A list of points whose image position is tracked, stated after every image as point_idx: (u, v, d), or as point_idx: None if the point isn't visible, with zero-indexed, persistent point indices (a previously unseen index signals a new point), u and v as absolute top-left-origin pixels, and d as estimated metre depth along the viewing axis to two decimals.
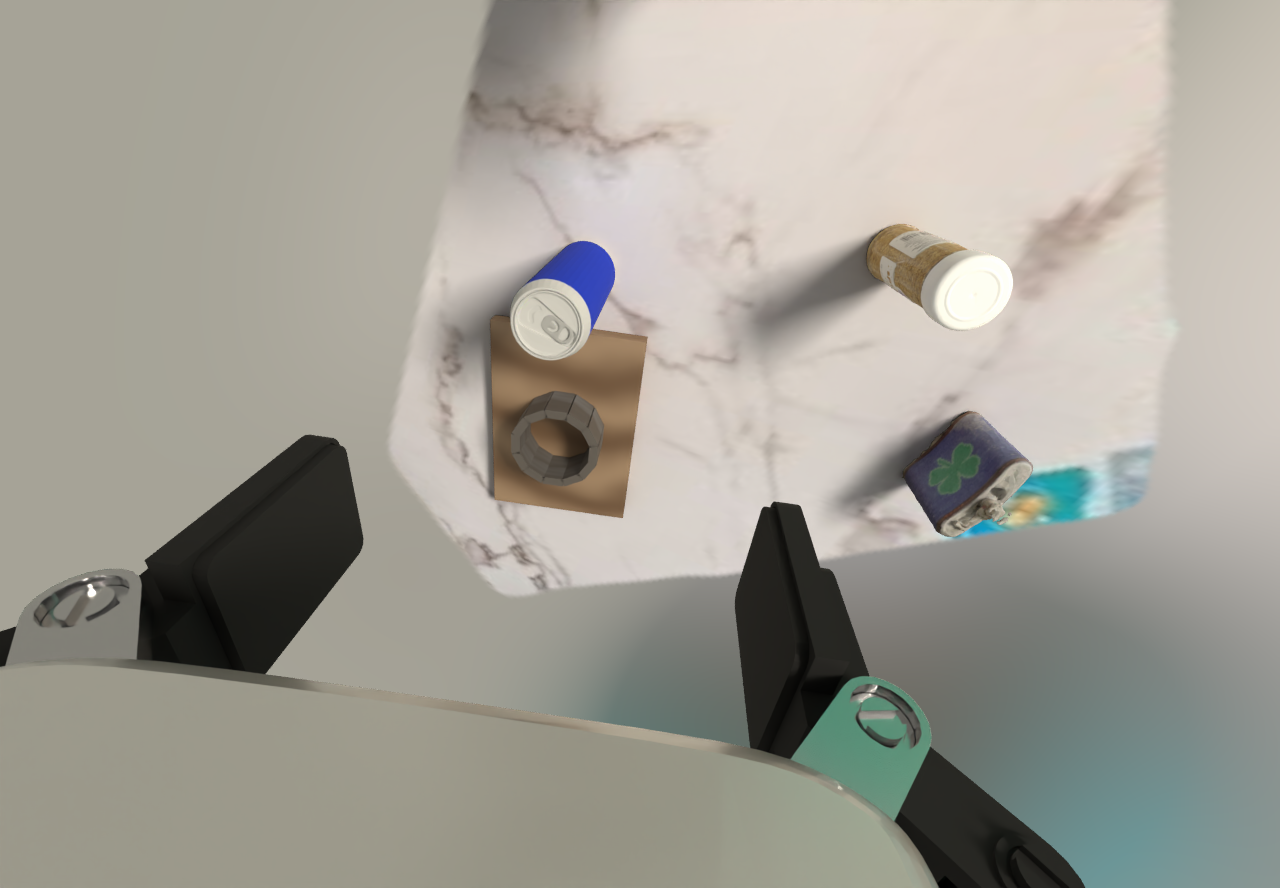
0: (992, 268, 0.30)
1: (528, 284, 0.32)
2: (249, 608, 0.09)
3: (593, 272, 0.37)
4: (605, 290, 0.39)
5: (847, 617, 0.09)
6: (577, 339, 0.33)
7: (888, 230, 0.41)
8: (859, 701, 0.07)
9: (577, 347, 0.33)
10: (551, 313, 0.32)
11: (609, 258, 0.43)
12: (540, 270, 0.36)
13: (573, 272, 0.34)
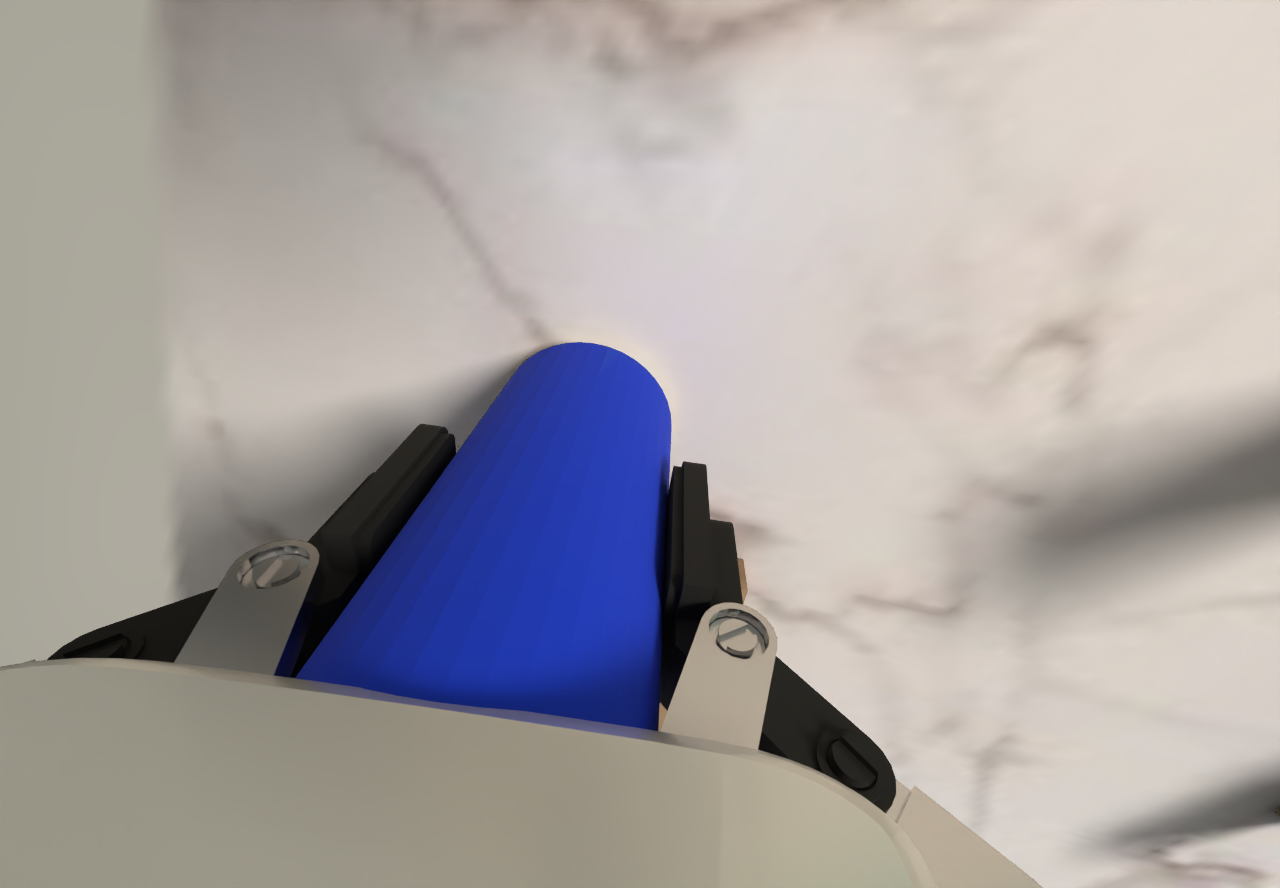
0: None
1: None
2: None
3: (624, 555, 0.08)
4: None
5: (736, 561, 0.10)
6: None
7: None
8: None
9: None
10: None
11: (658, 393, 0.15)
12: (366, 591, 0.07)
13: (514, 698, 0.06)
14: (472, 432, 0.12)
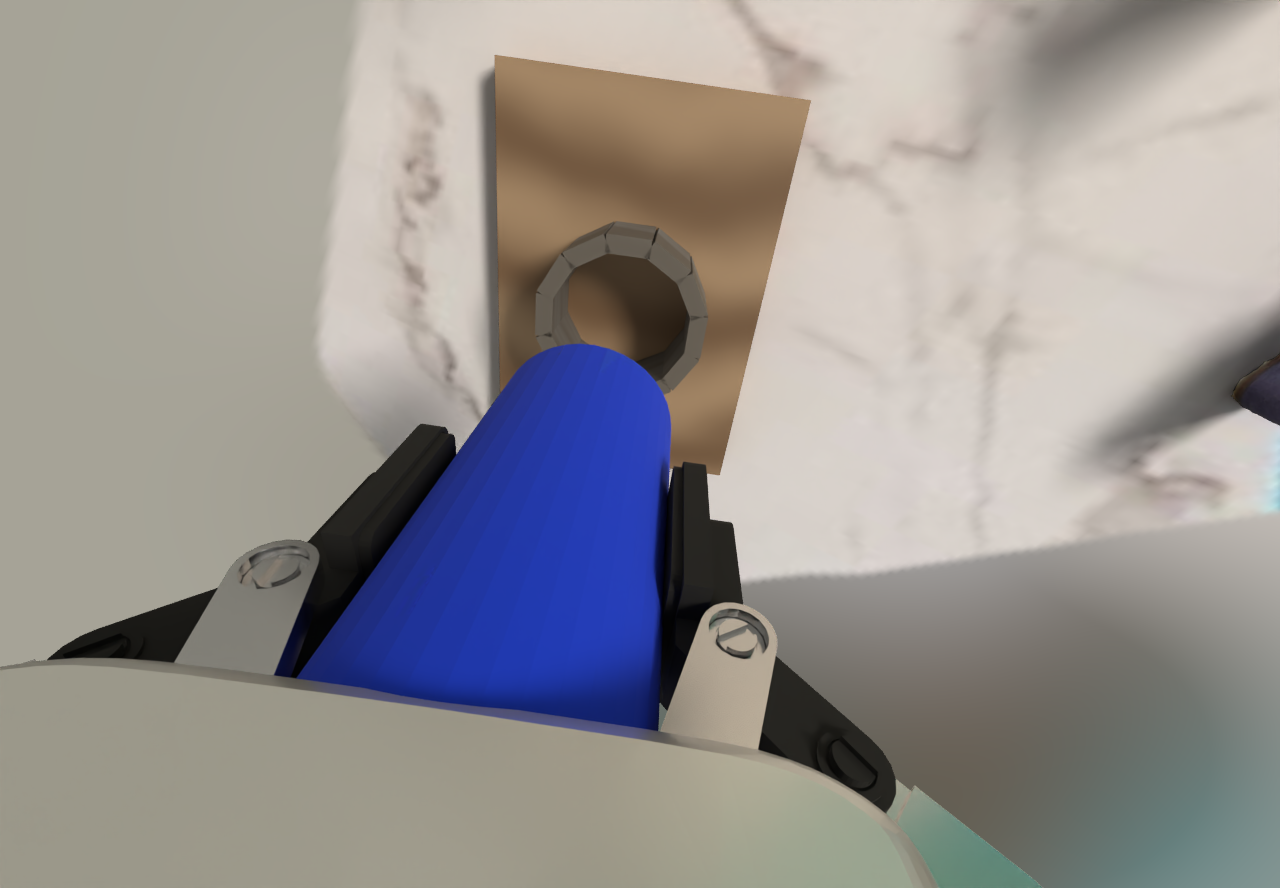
0: None
1: None
2: None
3: (624, 557, 0.08)
4: None
5: (735, 560, 0.10)
6: None
7: None
8: (722, 623, 0.08)
9: None
10: None
11: (658, 394, 0.15)
12: (364, 595, 0.07)
13: (513, 703, 0.06)
14: (471, 434, 0.12)
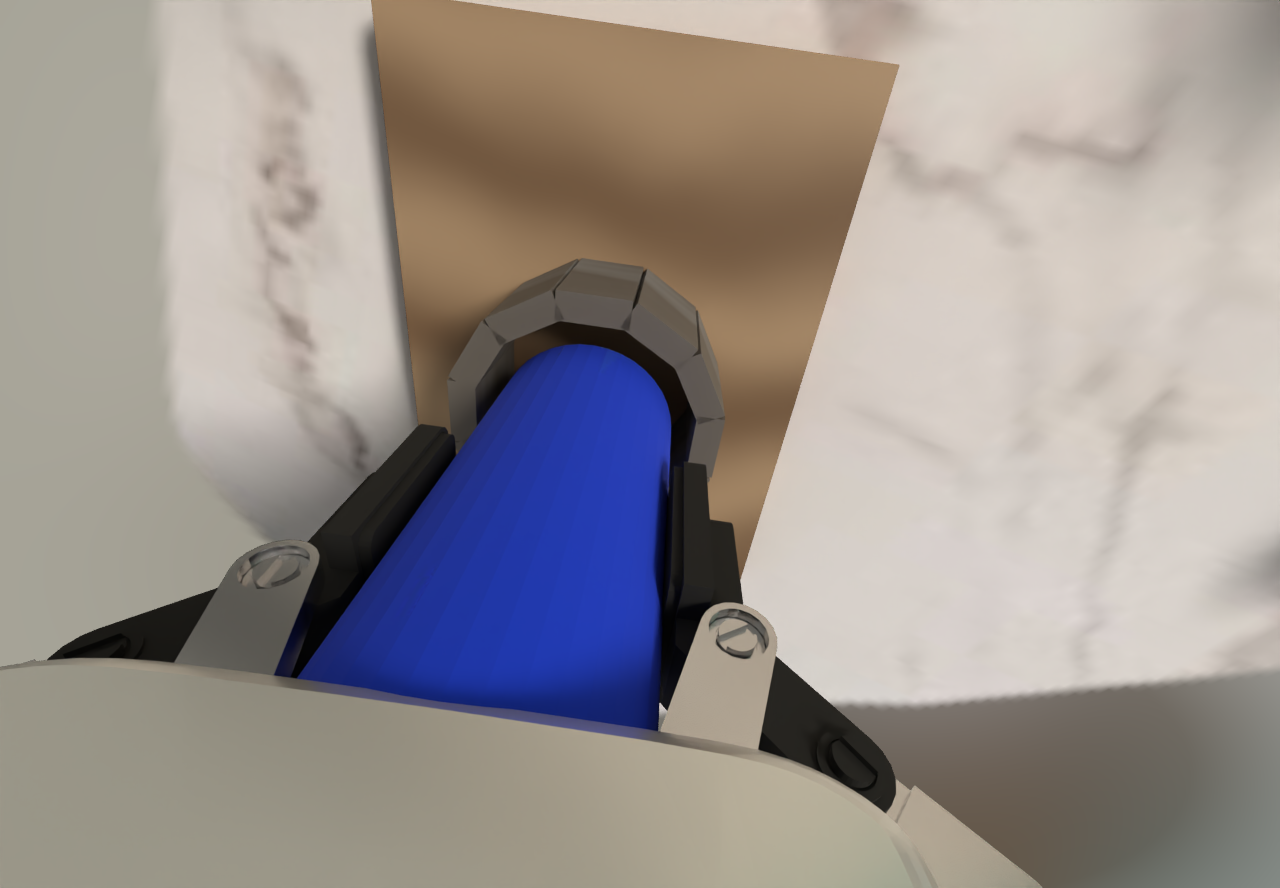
0: None
1: None
2: None
3: (624, 558, 0.08)
4: None
5: (735, 560, 0.10)
6: None
7: None
8: (722, 623, 0.08)
9: None
10: None
11: (658, 395, 0.15)
12: (364, 596, 0.07)
13: (513, 704, 0.06)
14: (471, 434, 0.12)
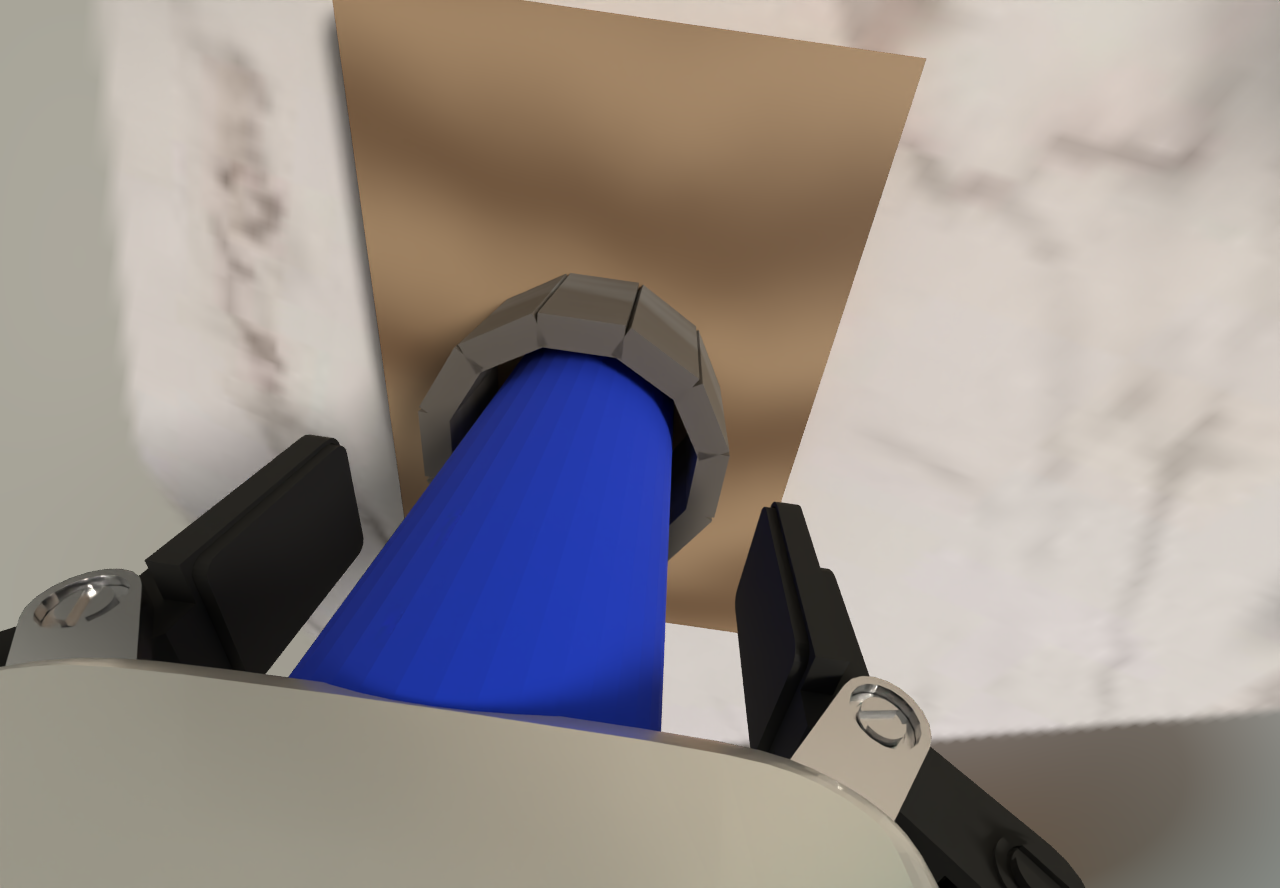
0: None
1: None
2: (249, 608, 0.09)
3: (632, 509, 0.09)
4: (668, 533, 0.11)
5: (847, 617, 0.09)
6: None
7: None
8: (859, 701, 0.07)
9: None
10: None
11: None
12: (399, 536, 0.08)
13: (538, 615, 0.06)
14: (487, 406, 0.12)
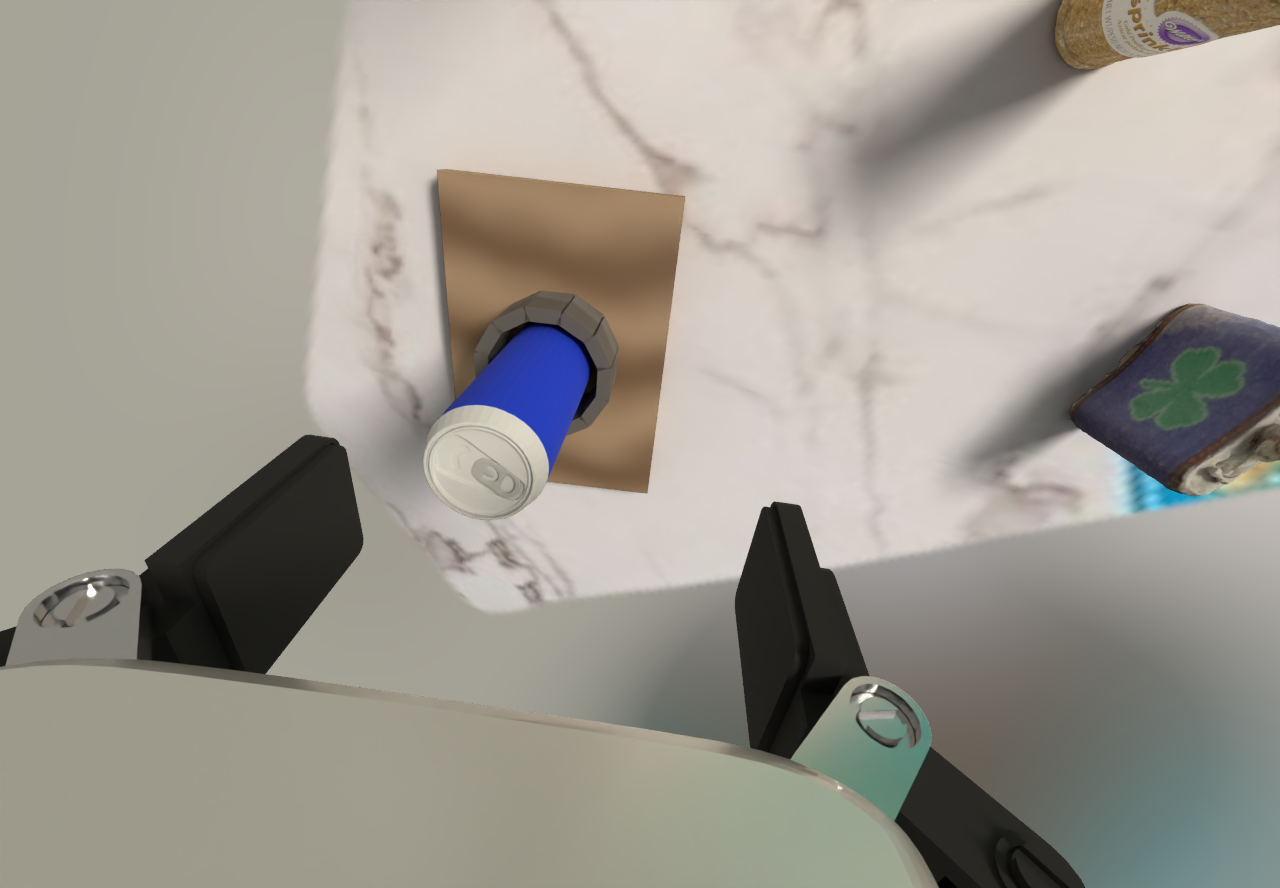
0: None
1: (448, 414, 0.20)
2: (249, 608, 0.09)
3: (558, 371, 0.26)
4: (578, 391, 0.28)
5: (847, 617, 0.09)
6: (528, 491, 0.21)
7: None
8: (859, 701, 0.07)
9: (528, 502, 0.21)
10: (486, 456, 0.21)
11: None
12: (479, 374, 0.25)
13: (523, 382, 0.23)
14: None
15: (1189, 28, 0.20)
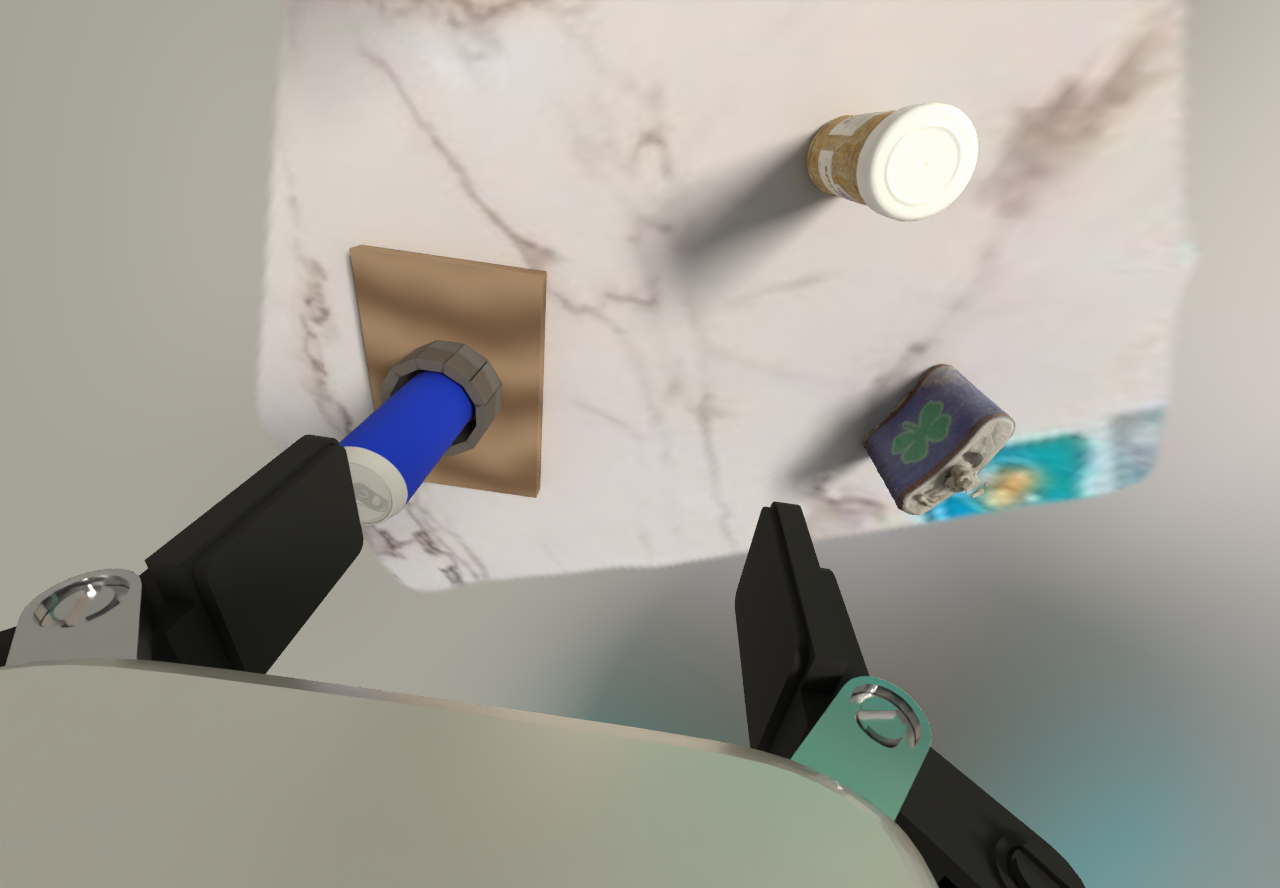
0: (948, 122, 0.21)
1: None
2: (249, 608, 0.09)
3: (431, 413, 0.35)
4: (452, 425, 0.36)
5: (847, 617, 0.09)
6: (391, 506, 0.30)
7: (831, 123, 0.32)
8: (859, 701, 0.07)
9: (392, 514, 0.30)
10: (359, 482, 0.30)
11: None
12: (369, 416, 0.33)
13: (395, 425, 0.32)
14: None
15: (849, 197, 0.28)
